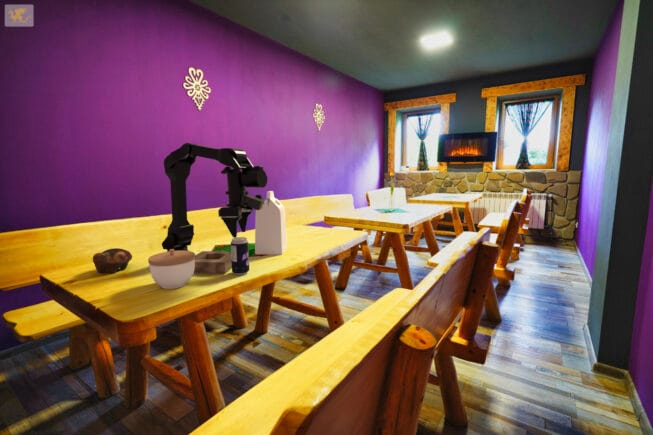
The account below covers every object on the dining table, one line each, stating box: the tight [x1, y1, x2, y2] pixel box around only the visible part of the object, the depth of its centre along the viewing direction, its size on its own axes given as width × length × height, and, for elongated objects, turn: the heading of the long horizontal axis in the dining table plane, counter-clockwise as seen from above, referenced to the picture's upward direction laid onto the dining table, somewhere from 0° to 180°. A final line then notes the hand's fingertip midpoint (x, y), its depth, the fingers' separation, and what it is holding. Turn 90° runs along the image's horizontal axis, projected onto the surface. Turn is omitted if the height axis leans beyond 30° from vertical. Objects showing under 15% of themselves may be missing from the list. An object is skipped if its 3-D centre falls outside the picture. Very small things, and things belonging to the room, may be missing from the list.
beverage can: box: [230, 236, 250, 276], centre depth 101 cm, size 6×6×12 cm
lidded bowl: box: [147, 249, 196, 290], centre depth 91 cm, size 13×13×11 cm
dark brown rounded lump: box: [92, 247, 133, 274], centre depth 104 cm, size 10×15×8 cm, turn 0°
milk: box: [254, 190, 288, 256], centre depth 130 cm, size 12×12×26 cm
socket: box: [194, 250, 232, 275], centre depth 108 cm, size 14×14×4 cm
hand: (239, 234), depth 100 cm, fingers open, 9 cm apart
